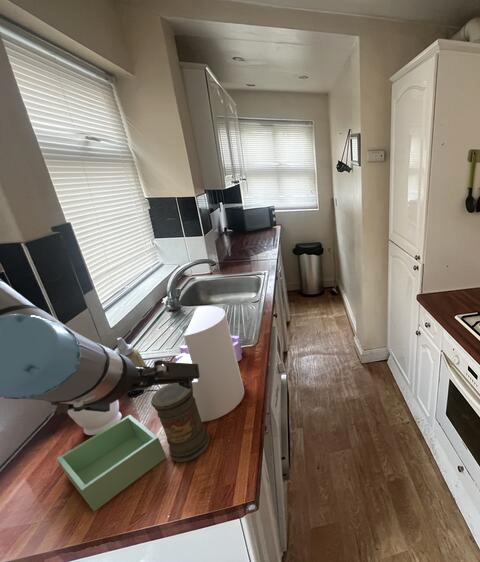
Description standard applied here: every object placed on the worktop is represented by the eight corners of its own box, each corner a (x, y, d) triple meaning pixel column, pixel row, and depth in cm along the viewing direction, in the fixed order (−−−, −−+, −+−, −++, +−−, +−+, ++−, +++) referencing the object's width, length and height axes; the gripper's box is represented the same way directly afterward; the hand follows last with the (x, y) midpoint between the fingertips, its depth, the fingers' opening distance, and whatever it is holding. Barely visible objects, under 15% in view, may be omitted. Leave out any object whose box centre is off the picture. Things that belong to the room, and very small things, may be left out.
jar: (135, 413, 90) (117, 372, 85) (97, 442, 81) (75, 398, 75) (108, 406, 93) (90, 366, 87) (69, 434, 84) (45, 391, 78)
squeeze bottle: (151, 387, 101) (133, 340, 94) (120, 396, 97) (99, 348, 90) (153, 373, 107) (136, 329, 101) (125, 381, 104) (105, 336, 97)
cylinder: (245, 375, 105) (228, 302, 94) (242, 412, 89) (221, 329, 79) (189, 388, 100) (164, 311, 89) (175, 429, 84) (143, 343, 74)
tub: (68, 478, 72) (56, 458, 69) (138, 433, 84) (129, 414, 81) (94, 511, 65) (81, 490, 62) (166, 457, 76) (158, 437, 74)
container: (174, 439, 81) (154, 385, 75) (212, 428, 84) (195, 375, 77) (166, 468, 74) (143, 411, 67) (208, 456, 76) (189, 400, 70)
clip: (243, 346, 121) (239, 331, 118) (241, 364, 110) (237, 348, 108) (186, 358, 115) (181, 342, 112) (178, 378, 104) (173, 362, 102)
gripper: (-44, 439, 35) (67, 436, 54) (198, 375, 45) (222, 391, 63) (-35, 375, 38) (68, 393, 56) (192, 327, 47) (217, 356, 66)
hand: (150, 392), depth 60 cm, fingers open, 13 cm apart
